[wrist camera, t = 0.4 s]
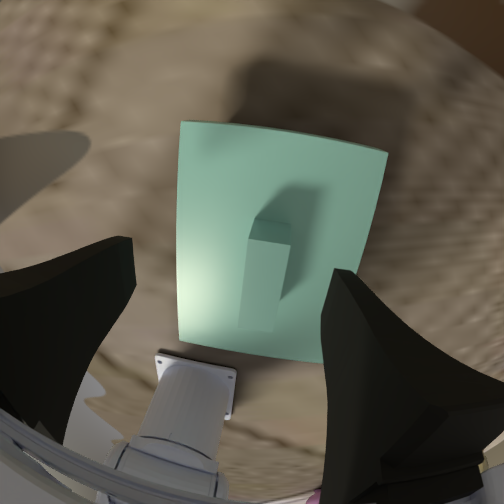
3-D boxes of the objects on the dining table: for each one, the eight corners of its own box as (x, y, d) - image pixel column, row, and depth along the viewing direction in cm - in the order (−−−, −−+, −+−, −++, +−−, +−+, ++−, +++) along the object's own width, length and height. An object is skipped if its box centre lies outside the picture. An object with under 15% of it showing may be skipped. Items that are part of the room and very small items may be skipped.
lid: (321, 349, 20) (324, 391, 17) (184, 327, 21) (168, 365, 17) (379, 148, 14) (406, 162, 10) (190, 119, 14) (161, 125, 11)
